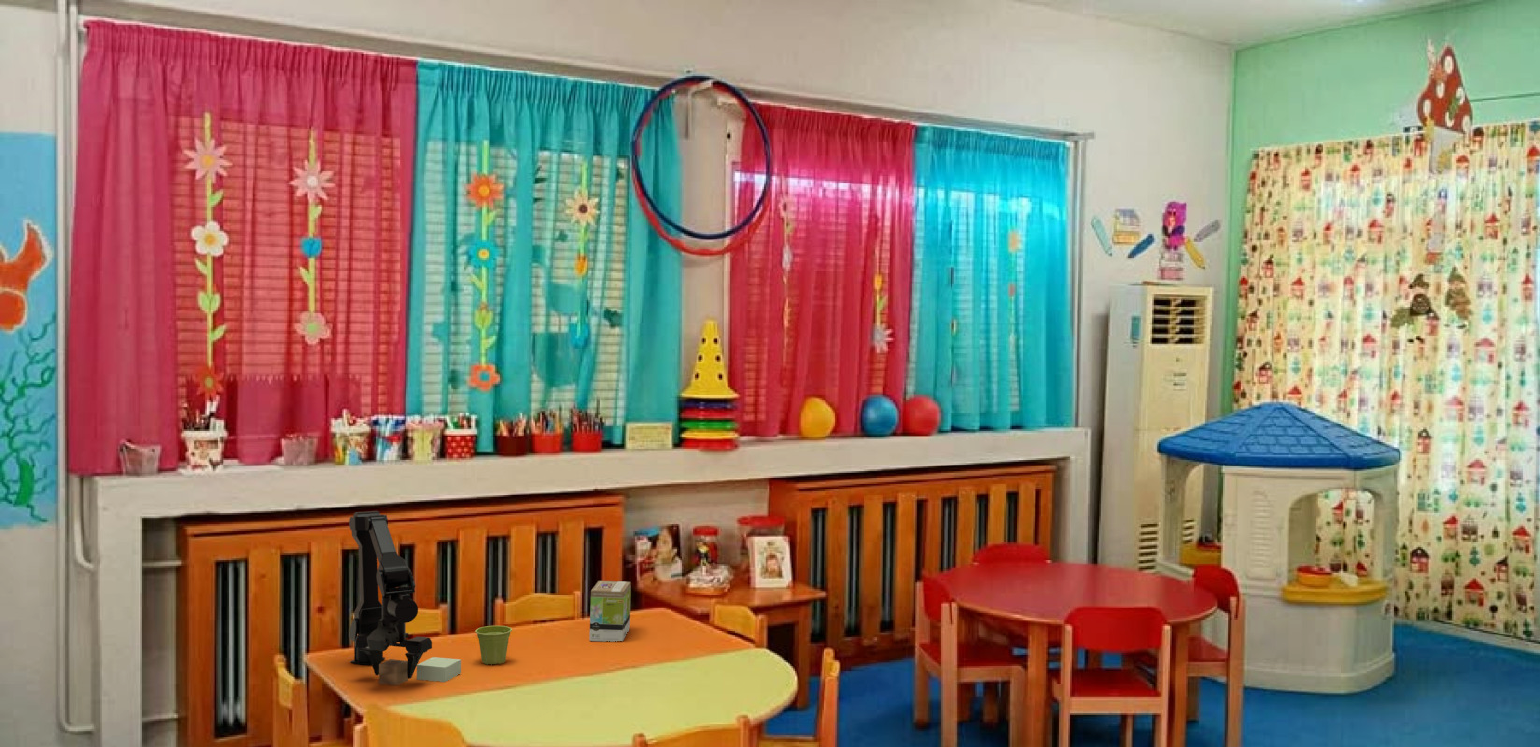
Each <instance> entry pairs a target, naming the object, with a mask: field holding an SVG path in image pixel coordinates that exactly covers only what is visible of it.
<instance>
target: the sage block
mask: <svg viewBox="0 0 1540 747" xmlns="http://www.w3.org/2000/svg"><path fill="white" fill-rule="evenodd" d="M460 673H461V674H462V659H459V658H448V657H438V656H437V657H436V656H432V657H431V658H428V659H426V660H424V661H421V662H420V663H418V664H417V666H416V681H417V680H419V681H426V680H428V682H437V681H439V683H447V682H449V681H451V680H452V678H453V677H454V678H456V677H458V676H459V675H458V674H460ZM461 674H460V675H461ZM457 675H458V676H457ZM455 676H456V677H455ZM454 678H453V679H454ZM450 679H451V680H450ZM448 680H449V681H448ZM446 681H447V682H446Z"/></svg>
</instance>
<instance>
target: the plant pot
mask: <svg viewBox="0 0 1540 747" xmlns="http://www.w3.org/2000/svg"><path fill="white" fill-rule="evenodd" d="M512 630H513V629H512V627H510V626H507V625H488V626H481V627H478V628H477V629H475V631H474V632H475V634H476V636H477V639H478V644H479V651H480V657H481V658H480V659H481V663H483V664H484V665H488V664H491V665H490V666H493V665H492V664H495V665H496V664H500V665H501V663H502V664H503V663H505V662H506V658H507V652H508V646H509V645H508V644H509V638H510V636H511V632H512Z"/></svg>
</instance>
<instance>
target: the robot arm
mask: <svg viewBox="0 0 1540 747" xmlns="http://www.w3.org/2000/svg"><path fill="white" fill-rule="evenodd" d="M348 523H349V524H348V525H349V526H348V527H349V530H350V531H351V536H352V539H353V540H354V541H355V543H356V544H357V545H358V566H359V567H358V568H359V570H358V571H359V574H358V575H359V602H358V604H357V606H356V608H355V610H354V612H353V613H354V614H353V615H354V616H353V619H352V622H351V625H350V627H349V629H348V637H349V640H351V641H352V642H354V643H353V645H354V646H353V649H354V650H353V651H354V652H353V654H354V655H353V658H354V659H352V660H350V664H356V665H357V664H358V665H364V666H365V665H367V666H372V669H373V672H374V674H375V676H379V664H380V663H382V661H386V657H384V654H383V652H385V651H386V650H388V648H389V647H398V648H405V650H406V651H407V652H406V653H405V654H404V656H405V658H407V661H408V662H407V675H408V680H410V679H412V678H413V675H414V673H415V670H416V669H417V665H418V664H419V662H420V660H421V658H422V656H423V654H425V653H427V652H428V651H429V650H431V649H433V640H432V639H431V638H430V637H427V636H415V637H413V638H411V639H407V638H409V632H406V630H407V629H406V624H407V623H410V622H412V621H414V619H415V618H416V617H417V616H418V613H419V606H418V604H417V603H416V601H414V599H412V598H411V594H415V592H416V591H415V590H416V583H415V579H414V576H413V573H412V571H411V568H410V567H409V566H408V564H407V562H406V559H405V558H403V557H401V556H400V555H399V554H398V553H397V550H396V547H395V544H394V541H393V538H392V534H391V531H390V528H389V525H388V524H389V518H388V516H387V514H381V513H380V511H378V510H372V511H371V510H370V511H358V512H354V513H353V516H350V517H349V520H348ZM379 591H380V594H381V601H380V600H379V598H380V597H379Z"/></svg>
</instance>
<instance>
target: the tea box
mask: <svg viewBox="0 0 1540 747" xmlns="http://www.w3.org/2000/svg"><path fill="white" fill-rule="evenodd" d="M631 584H632V583H631V581H621V580H619V581H618V580H617V581H616V580H614V581H613V580H597V582H596V583H595V585H594V586H593V587H592V589H590V590H591V591H590V609H589V610H590V612H589V614H590V615H589V635H588V636H589V639H588V640H589V641H590V642H606V641H608V642H609V641H610V643H611V642H612V643H614V642H615V641H616V642H615V643H618V642H617V641H622V642H623V641H624V640H625V638H626V636H627V635H628V633H629V630H630V625H631V620H630V619H631V592H632V591H631V589H632V588H631ZM627 632H628V633H627ZM626 634H627V635H626Z"/></svg>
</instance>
